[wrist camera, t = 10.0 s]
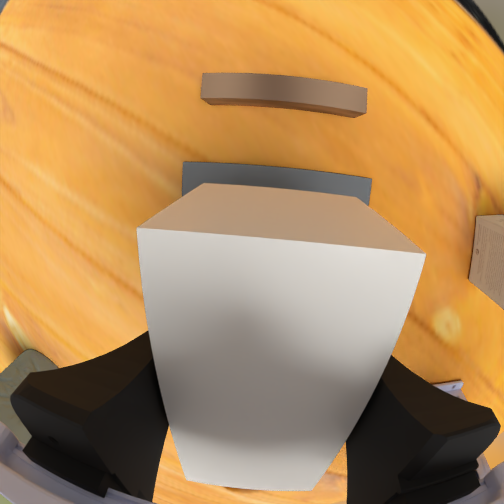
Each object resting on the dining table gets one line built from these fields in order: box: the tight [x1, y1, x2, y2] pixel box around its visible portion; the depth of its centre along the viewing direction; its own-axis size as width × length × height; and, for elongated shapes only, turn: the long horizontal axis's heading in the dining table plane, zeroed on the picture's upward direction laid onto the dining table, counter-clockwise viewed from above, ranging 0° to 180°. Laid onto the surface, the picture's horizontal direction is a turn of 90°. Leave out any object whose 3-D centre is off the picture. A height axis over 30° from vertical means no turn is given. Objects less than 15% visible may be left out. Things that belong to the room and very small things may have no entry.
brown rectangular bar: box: [201, 73, 367, 118], centre depth 14 cm, size 9×2×2 cm, turn 87°
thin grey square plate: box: [182, 162, 372, 206], centre depth 19 cm, size 12×12×1 cm
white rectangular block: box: [137, 183, 426, 491], centre depth 10 cm, size 6×12×6 cm, turn 177°
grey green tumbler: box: [0, 349, 59, 445], centre depth 21 cm, size 10×10×12 cm
